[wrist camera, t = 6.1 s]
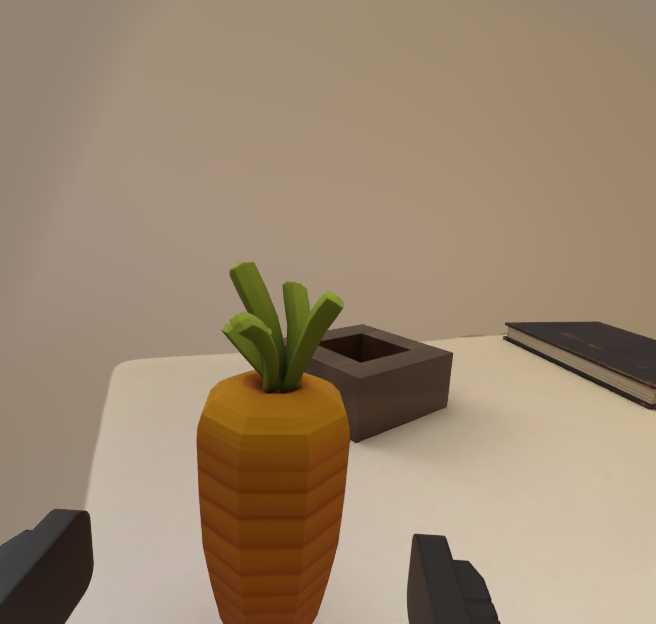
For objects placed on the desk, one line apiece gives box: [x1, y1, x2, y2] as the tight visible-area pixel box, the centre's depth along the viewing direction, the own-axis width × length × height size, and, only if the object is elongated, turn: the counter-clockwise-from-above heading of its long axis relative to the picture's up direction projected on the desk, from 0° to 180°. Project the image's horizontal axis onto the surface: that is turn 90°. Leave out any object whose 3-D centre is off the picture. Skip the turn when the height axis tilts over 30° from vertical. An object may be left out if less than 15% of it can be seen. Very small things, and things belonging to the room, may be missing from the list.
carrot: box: [197, 262, 350, 624], centre depth 15 cm, size 5×5×15 cm
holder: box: [283, 324, 453, 442], centre depth 41 cm, size 11×11×5 cm
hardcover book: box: [503, 322, 656, 409], centre depth 55 cm, size 16×23×2 cm
